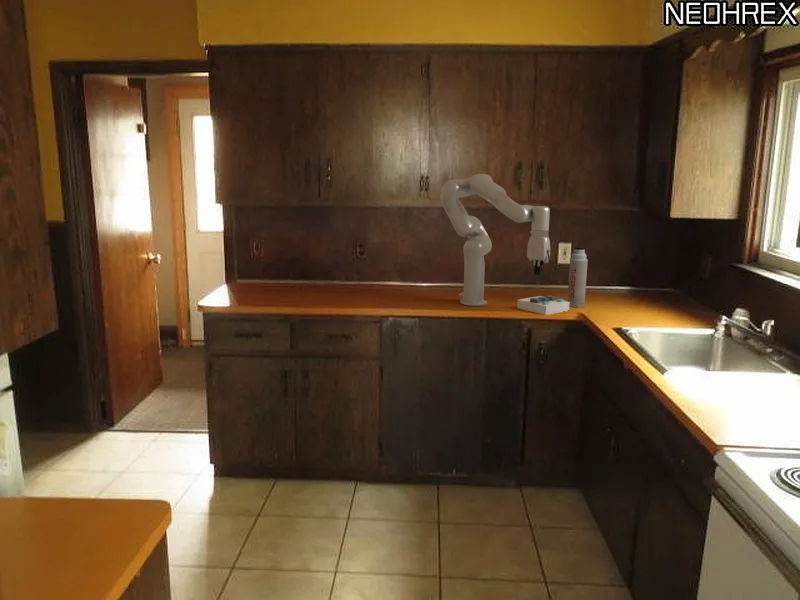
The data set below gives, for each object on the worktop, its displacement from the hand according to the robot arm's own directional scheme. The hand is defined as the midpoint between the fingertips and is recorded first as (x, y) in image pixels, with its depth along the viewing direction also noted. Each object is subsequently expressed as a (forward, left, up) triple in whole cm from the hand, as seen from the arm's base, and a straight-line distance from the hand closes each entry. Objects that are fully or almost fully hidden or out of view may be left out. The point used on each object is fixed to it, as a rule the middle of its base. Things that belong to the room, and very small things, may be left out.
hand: (537, 274), depth 297 cm
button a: (0, 0, -15) cm, 15 cm away
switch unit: (0, +5, -17) cm, 17 cm away
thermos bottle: (+3, +24, -17) cm, 30 cm away
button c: (0, +10, -15) cm, 18 cm away
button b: (0, +5, -15) cm, 15 cm away
